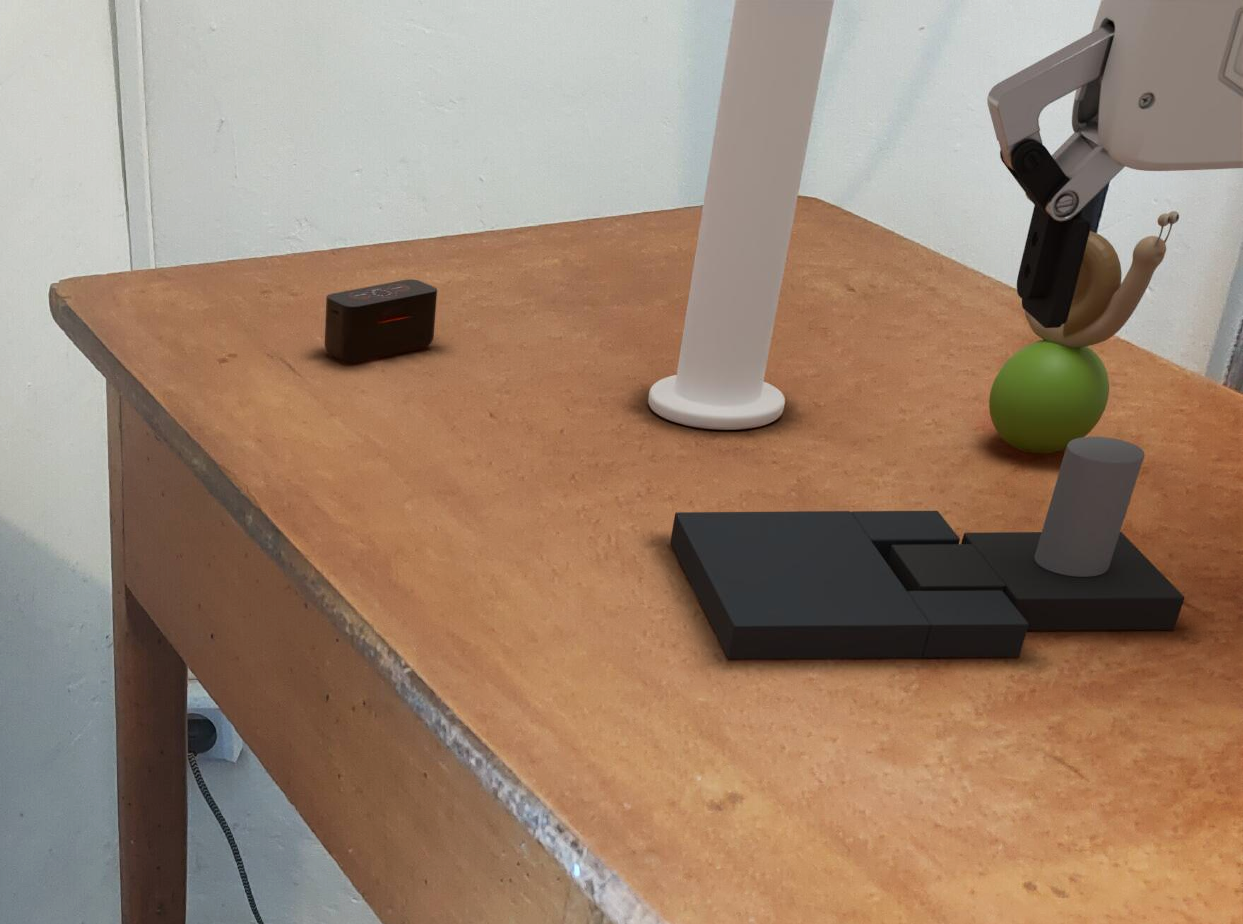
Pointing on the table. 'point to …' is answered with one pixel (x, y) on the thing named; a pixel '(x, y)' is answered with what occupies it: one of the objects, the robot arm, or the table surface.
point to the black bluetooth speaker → (380, 320)
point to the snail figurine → (1072, 351)
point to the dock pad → (833, 587)
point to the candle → (747, 217)
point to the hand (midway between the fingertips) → (1164, 312)
